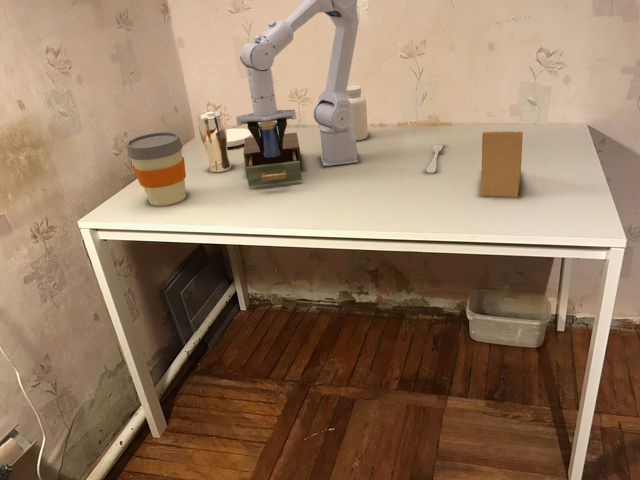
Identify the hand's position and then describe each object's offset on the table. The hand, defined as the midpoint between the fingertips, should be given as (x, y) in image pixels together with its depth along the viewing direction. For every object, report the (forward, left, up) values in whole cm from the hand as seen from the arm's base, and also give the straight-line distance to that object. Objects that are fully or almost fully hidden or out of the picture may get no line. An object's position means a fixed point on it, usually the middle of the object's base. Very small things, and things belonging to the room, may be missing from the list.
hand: (271, 149), depth 147 cm
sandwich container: (-53, +21, -8) cm, 58 cm away
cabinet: (0, -11, -8) cm, 13 cm away
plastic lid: (+13, -37, -8) cm, 40 cm away
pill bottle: (-25, -28, -8) cm, 38 cm away
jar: (0, 0, -1) cm, 1 cm away
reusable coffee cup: (+27, +4, -8) cm, 29 cm away
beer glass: (+15, -14, -8) cm, 22 cm away
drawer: (0, +1, -7) cm, 7 cm away
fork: (-43, -1, -8) cm, 44 cm away
